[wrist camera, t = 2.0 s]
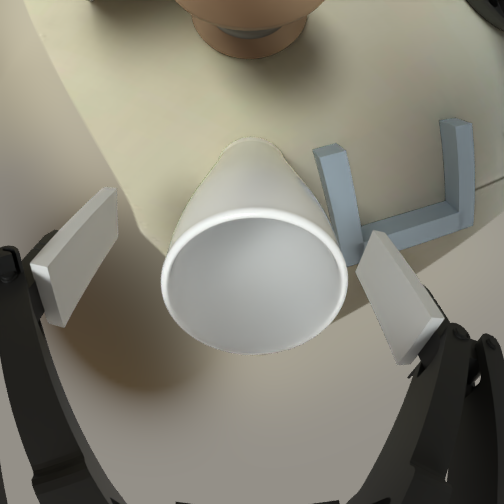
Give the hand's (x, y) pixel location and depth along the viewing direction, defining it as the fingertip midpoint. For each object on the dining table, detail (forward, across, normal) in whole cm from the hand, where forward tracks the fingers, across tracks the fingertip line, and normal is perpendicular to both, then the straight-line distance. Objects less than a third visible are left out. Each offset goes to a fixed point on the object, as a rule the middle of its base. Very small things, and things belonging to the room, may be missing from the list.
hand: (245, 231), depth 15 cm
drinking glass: (+10, 0, 0) cm, 10 cm away
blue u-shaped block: (+10, +13, +2) cm, 17 cm away
